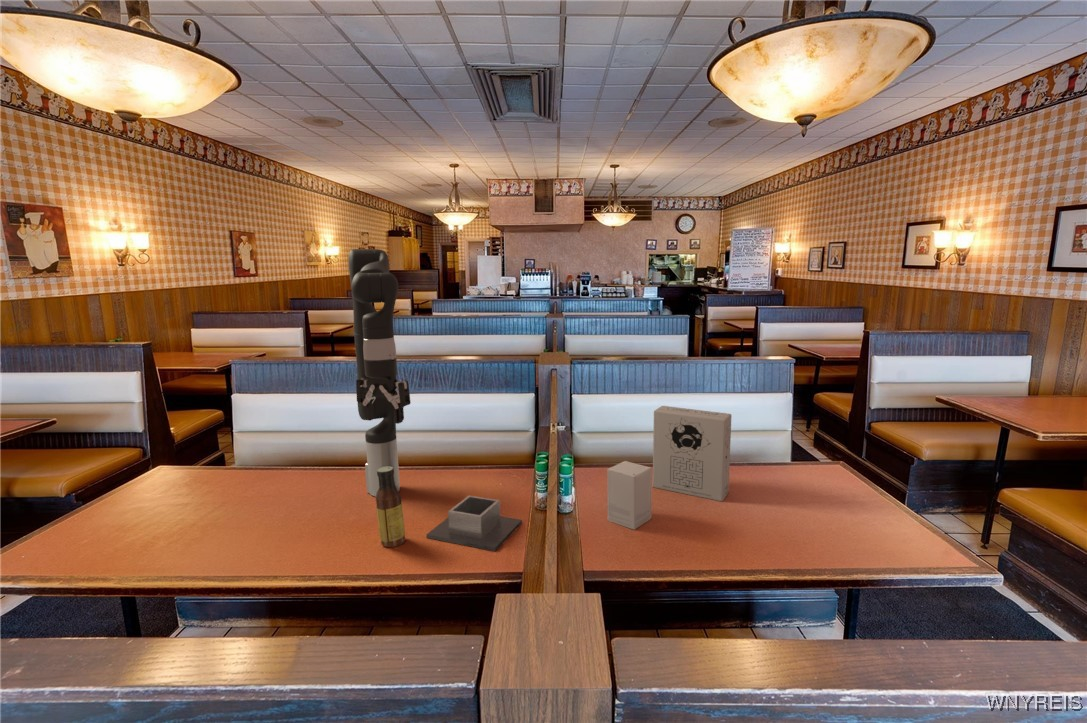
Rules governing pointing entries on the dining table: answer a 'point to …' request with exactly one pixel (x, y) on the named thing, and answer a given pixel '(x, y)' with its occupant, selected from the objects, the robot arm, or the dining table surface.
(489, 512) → the condiment holder
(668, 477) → the cereal box
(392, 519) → the sauce bottle
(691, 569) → the dining table surface
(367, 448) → the robot arm
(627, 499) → the supplement box
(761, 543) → the dining table surface
